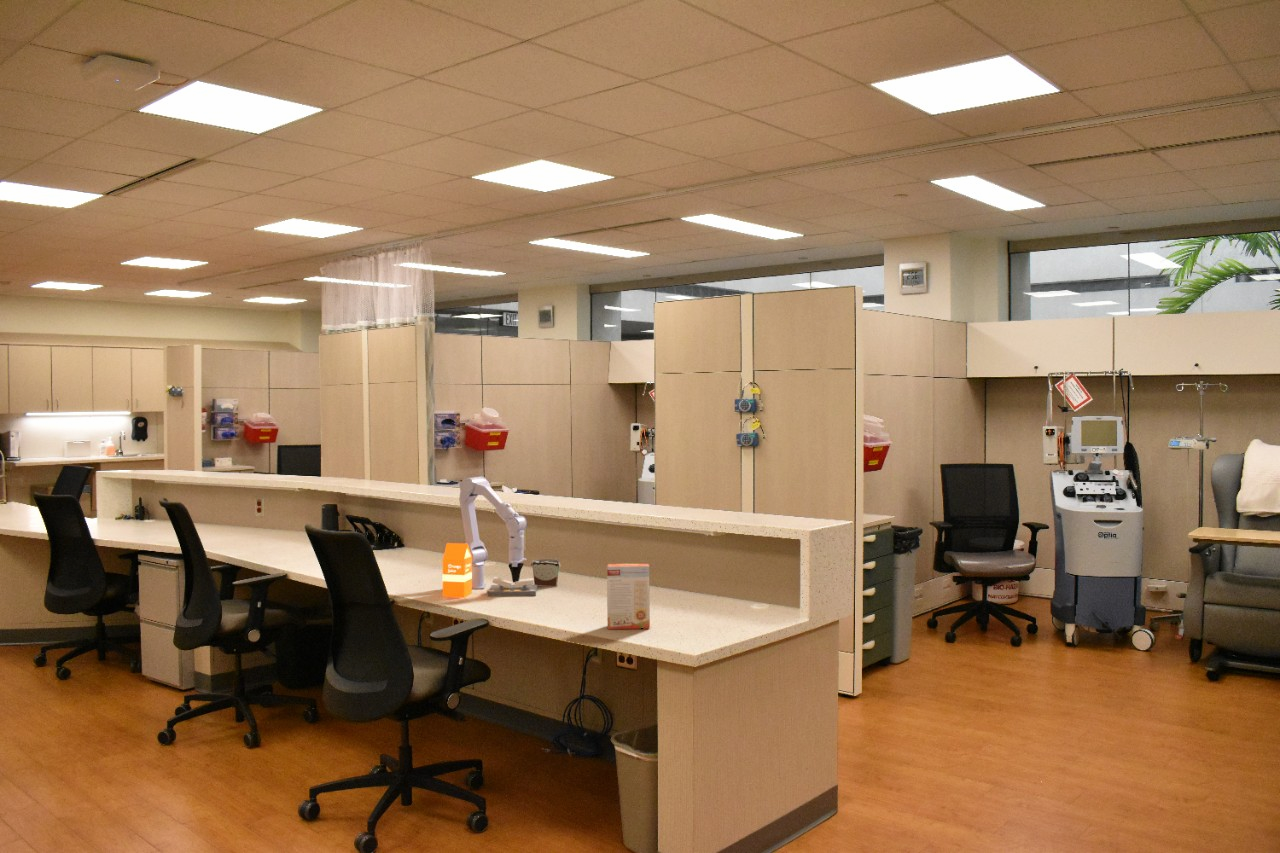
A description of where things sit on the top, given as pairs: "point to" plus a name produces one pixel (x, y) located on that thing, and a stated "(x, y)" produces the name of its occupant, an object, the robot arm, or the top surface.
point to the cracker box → (628, 596)
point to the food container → (545, 572)
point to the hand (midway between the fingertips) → (515, 582)
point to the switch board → (512, 590)
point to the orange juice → (457, 570)
